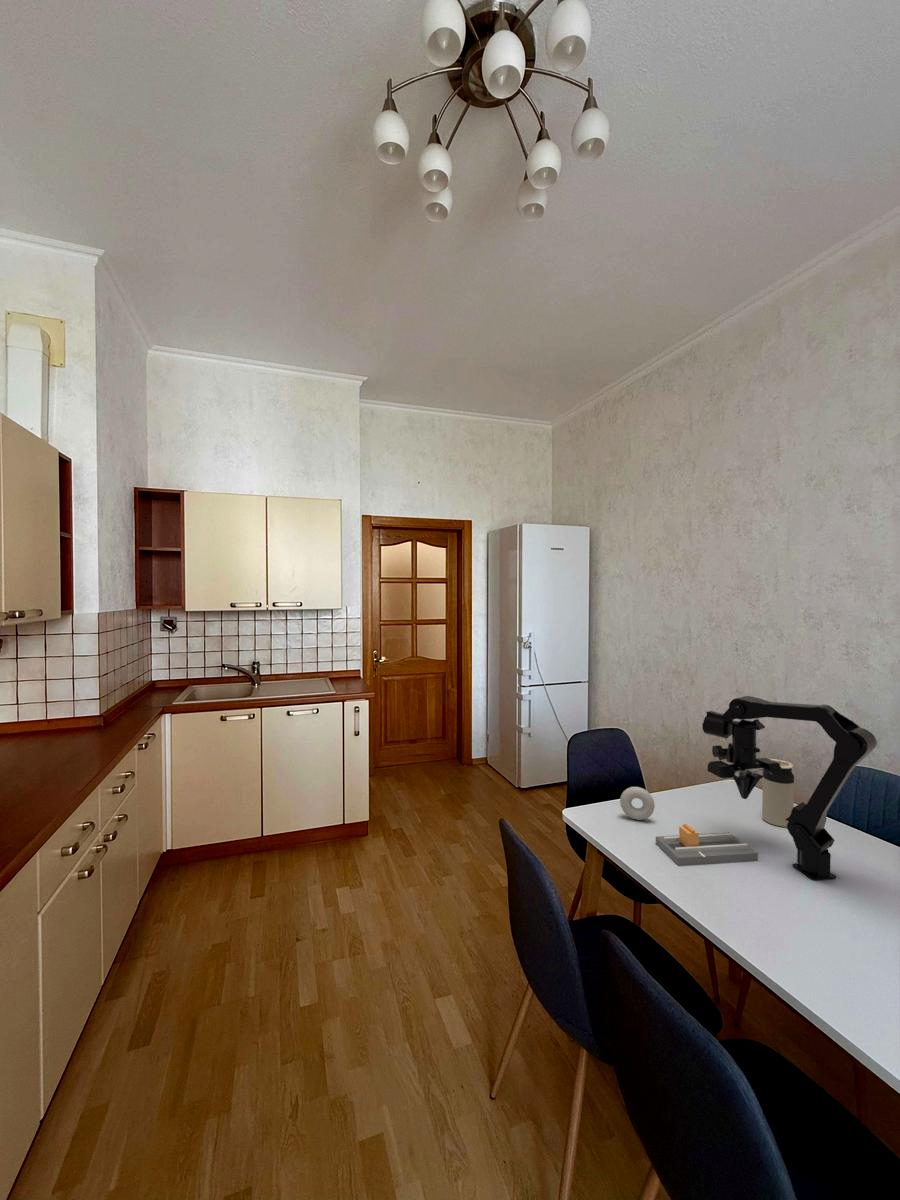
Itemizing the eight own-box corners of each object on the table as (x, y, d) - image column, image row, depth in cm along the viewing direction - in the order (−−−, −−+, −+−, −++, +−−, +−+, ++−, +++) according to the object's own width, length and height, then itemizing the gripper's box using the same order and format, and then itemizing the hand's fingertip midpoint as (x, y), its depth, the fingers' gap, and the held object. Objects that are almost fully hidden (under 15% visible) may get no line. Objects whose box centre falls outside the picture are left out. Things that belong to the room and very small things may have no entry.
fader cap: (698, 847, 130) (698, 830, 130) (687, 848, 130) (688, 831, 130) (689, 840, 134) (689, 823, 134) (679, 840, 134) (679, 824, 134)
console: (758, 861, 128) (758, 849, 128) (678, 866, 126) (679, 854, 125) (728, 838, 139) (728, 828, 139) (655, 843, 137) (655, 832, 137)
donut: (654, 819, 151) (654, 787, 151) (654, 824, 148) (655, 791, 148) (620, 814, 155) (620, 782, 155) (619, 819, 152) (619, 786, 151)
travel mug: (798, 828, 145) (799, 768, 145) (768, 826, 147) (769, 766, 147) (786, 816, 153) (786, 759, 153) (757, 814, 155) (758, 757, 154)
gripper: (751, 732, 146) (751, 785, 146) (694, 735, 143) (694, 789, 143) (782, 743, 135) (782, 800, 135) (721, 747, 132) (721, 805, 132)
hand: (744, 798), depth 136 cm, fingers closed
